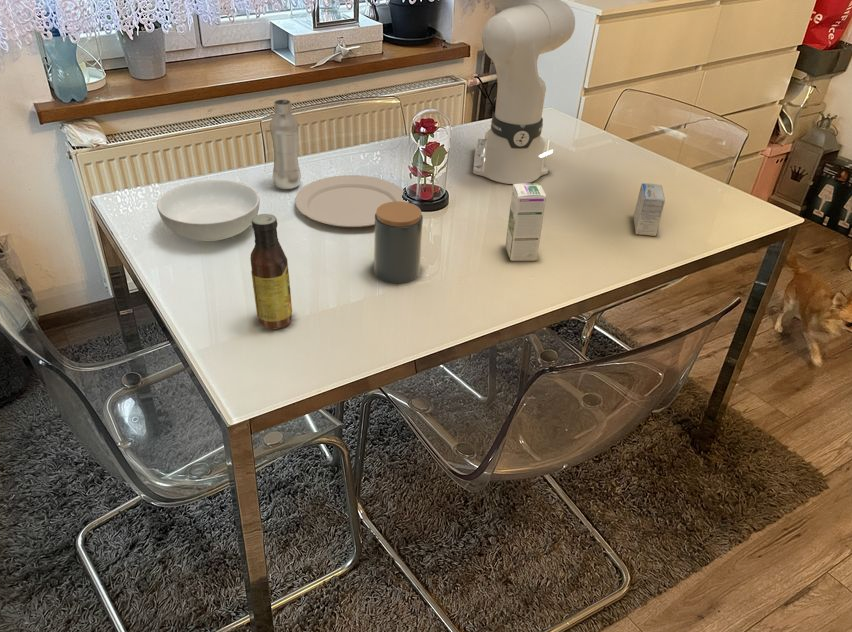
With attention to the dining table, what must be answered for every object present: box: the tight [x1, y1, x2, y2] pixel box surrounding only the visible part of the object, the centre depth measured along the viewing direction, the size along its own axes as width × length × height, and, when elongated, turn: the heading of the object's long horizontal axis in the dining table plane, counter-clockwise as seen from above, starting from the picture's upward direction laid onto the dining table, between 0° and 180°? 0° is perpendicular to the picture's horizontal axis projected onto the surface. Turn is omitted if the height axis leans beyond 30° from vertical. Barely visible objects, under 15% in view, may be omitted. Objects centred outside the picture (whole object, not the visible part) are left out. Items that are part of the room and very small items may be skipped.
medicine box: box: [632, 182, 666, 237], centre depth 159 cm, size 8×4×9 cm, turn 168°
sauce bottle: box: [249, 213, 293, 330], centre depth 124 cm, size 7×6×20 cm
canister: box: [373, 201, 424, 284], centre depth 140 cm, size 9×9×13 cm
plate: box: [294, 174, 410, 228], centre depth 165 cm, size 26×26×2 cm
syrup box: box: [504, 182, 547, 262], centre depth 146 cm, size 6×6×14 cm
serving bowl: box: [156, 179, 261, 242], centre depth 154 cm, size 21×21×7 cm
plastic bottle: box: [269, 99, 302, 190], centre depth 168 cm, size 6×7×20 cm
